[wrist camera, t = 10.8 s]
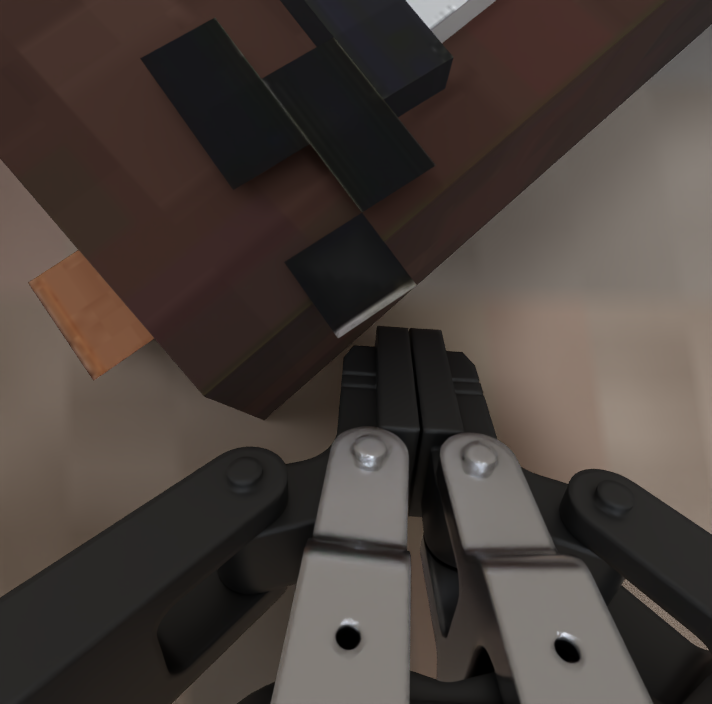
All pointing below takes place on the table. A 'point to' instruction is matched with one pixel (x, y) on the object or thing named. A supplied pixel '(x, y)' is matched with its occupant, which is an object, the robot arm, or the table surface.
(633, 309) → the table surface
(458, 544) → the robot arm
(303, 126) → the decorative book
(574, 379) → the table surface
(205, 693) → the table surface
